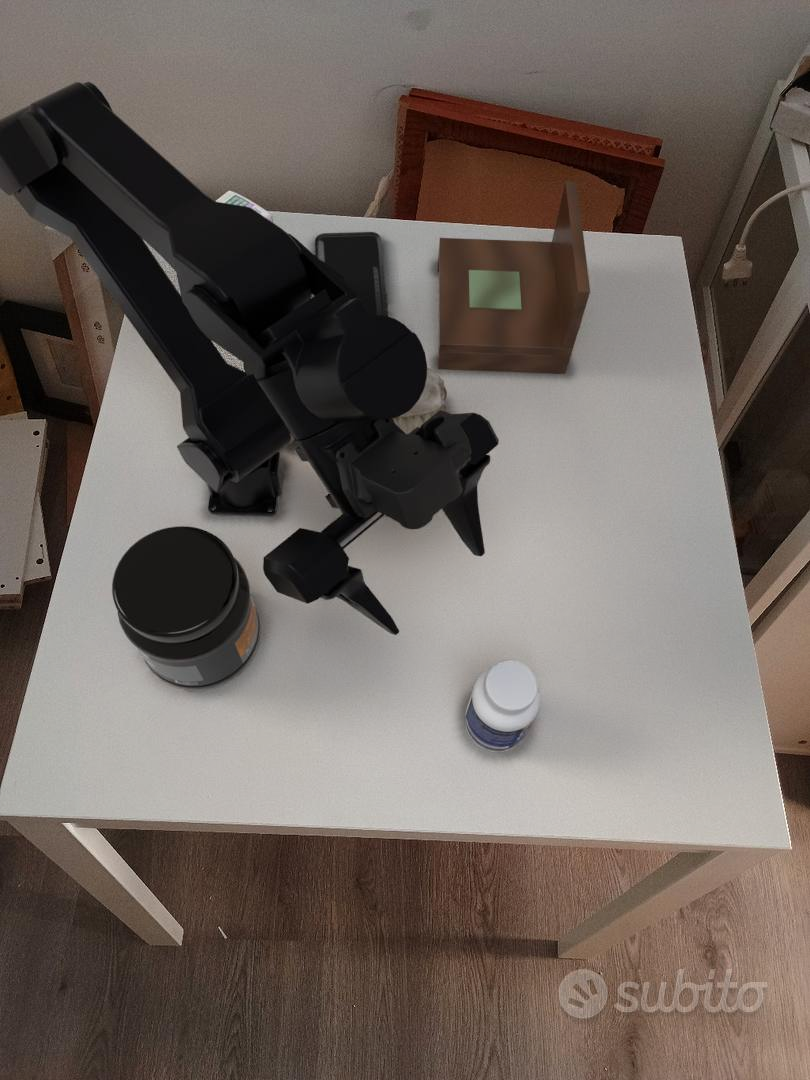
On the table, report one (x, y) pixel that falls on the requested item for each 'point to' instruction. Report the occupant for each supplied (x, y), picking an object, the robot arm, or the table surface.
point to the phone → (357, 265)
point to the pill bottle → (502, 706)
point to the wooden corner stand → (514, 298)
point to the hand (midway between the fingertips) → (438, 592)
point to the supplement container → (186, 607)
